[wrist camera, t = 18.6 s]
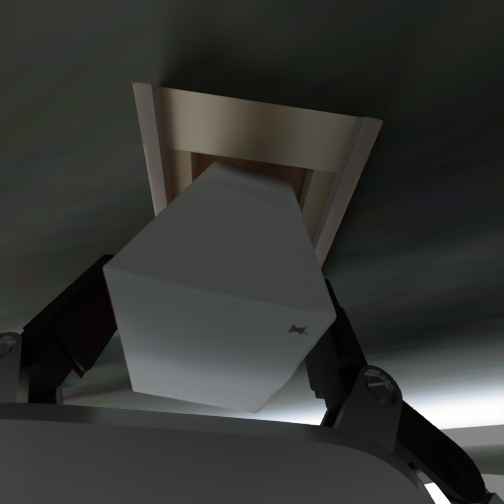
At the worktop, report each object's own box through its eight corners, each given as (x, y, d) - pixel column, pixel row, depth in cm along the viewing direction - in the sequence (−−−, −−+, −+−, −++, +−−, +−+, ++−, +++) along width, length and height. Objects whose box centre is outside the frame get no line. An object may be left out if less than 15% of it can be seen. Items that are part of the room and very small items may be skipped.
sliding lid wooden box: (184, 314, 27) (172, 341, 24) (157, 88, 13) (121, 80, 10) (285, 327, 27) (287, 356, 24) (362, 119, 14) (393, 121, 10)
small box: (214, 158, 15) (91, 262, 5) (292, 180, 16) (348, 318, 5) (203, 243, 20) (128, 395, 9) (264, 258, 20) (261, 417, 10)
